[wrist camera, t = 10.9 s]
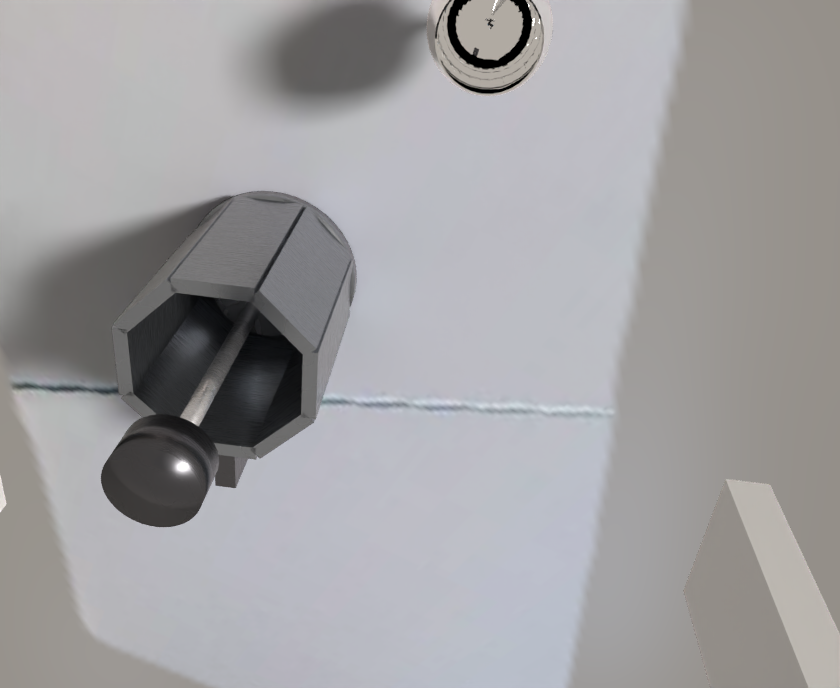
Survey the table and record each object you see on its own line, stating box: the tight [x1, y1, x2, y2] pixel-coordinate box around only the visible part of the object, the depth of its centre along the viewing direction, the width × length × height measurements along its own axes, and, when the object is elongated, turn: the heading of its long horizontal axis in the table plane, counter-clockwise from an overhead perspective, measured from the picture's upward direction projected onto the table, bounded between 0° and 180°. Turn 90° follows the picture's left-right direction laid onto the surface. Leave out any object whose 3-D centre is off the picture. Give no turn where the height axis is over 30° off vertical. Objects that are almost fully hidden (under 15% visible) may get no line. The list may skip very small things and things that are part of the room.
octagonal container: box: [111, 191, 356, 488], centre depth 48 cm, size 14×11×13 cm
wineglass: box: [427, 0, 553, 96], centre depth 39 cm, size 6×6×12 cm
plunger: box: [101, 298, 283, 527], centre depth 43 cm, size 7×7×21 cm
